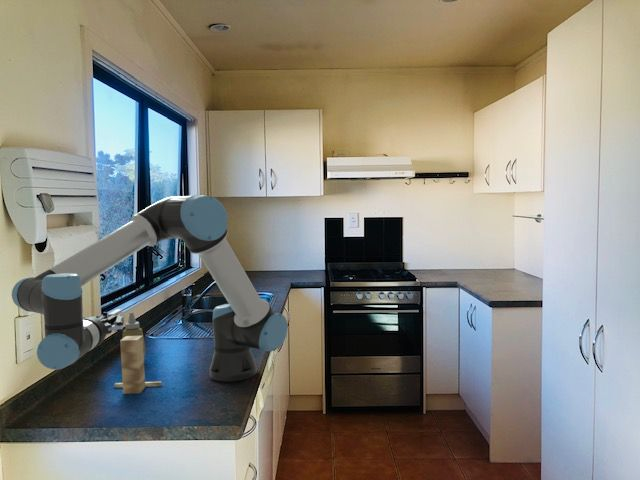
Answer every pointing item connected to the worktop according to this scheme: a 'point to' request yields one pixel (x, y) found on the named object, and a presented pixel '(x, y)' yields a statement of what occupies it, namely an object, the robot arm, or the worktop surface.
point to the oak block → (132, 364)
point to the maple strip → (147, 384)
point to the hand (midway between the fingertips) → (119, 314)
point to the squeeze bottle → (133, 329)
